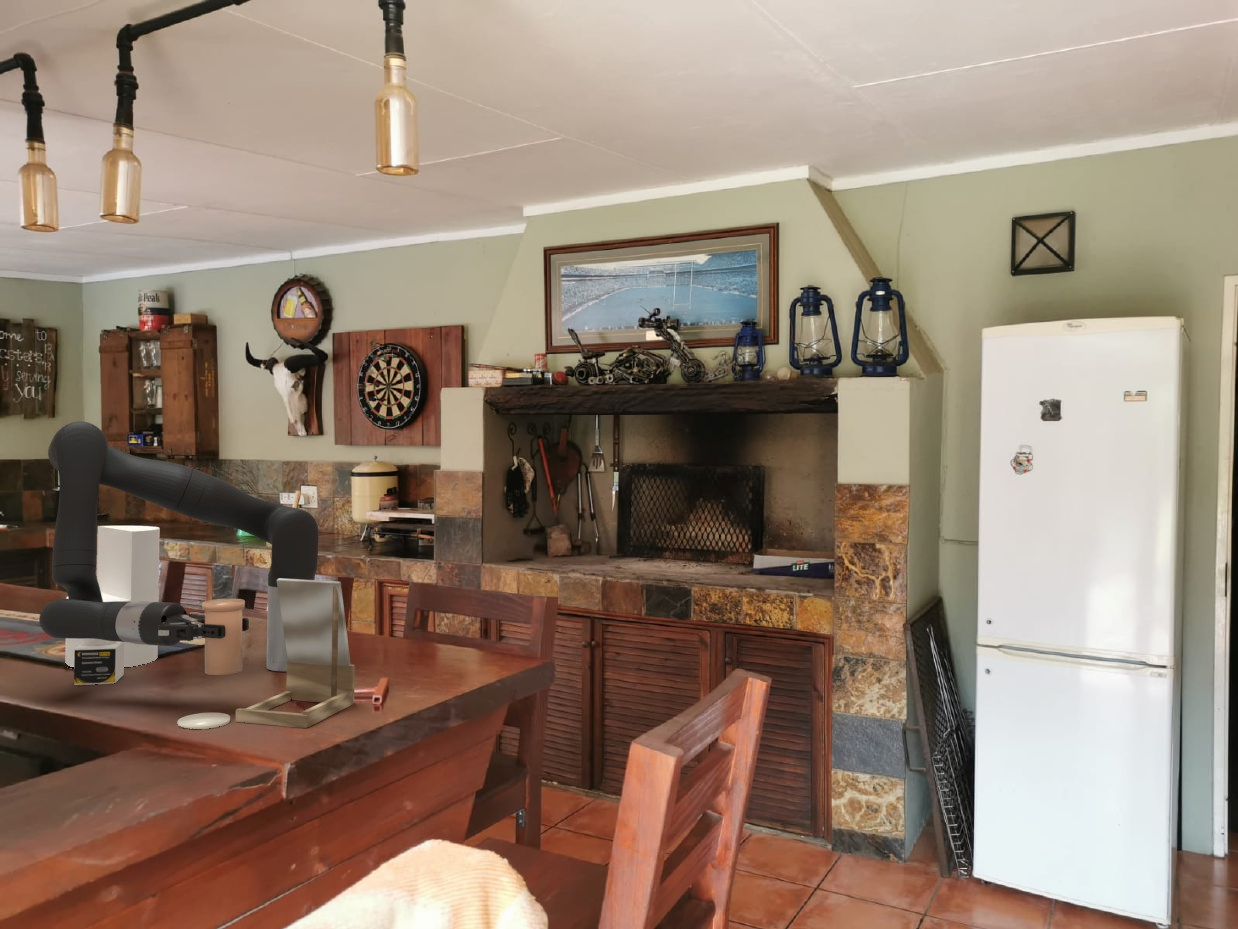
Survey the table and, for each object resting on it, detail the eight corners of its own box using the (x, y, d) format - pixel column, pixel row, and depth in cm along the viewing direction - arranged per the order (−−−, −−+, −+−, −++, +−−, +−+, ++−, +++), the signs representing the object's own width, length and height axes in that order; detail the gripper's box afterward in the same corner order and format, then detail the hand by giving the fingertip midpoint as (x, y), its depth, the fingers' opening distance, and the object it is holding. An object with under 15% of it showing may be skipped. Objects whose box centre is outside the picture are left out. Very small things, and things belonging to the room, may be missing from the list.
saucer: (198, 714, 161) (198, 711, 161) (240, 718, 160) (240, 714, 160) (166, 727, 153) (166, 723, 153) (209, 731, 152) (209, 727, 152)
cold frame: (289, 698, 173) (291, 575, 173) (354, 703, 170) (356, 578, 170) (235, 721, 157) (237, 586, 157) (306, 728, 155) (308, 590, 154)
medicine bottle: (73, 686, 179) (74, 622, 179) (83, 677, 186) (84, 616, 185) (115, 684, 181) (116, 621, 180) (124, 675, 187) (125, 615, 187)
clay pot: (218, 665, 168) (218, 597, 168) (252, 667, 166) (252, 599, 166) (193, 674, 161) (193, 604, 161) (228, 676, 160) (228, 606, 160)
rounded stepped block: (136, 649, 212) (138, 524, 212) (172, 661, 201) (174, 529, 201) (51, 660, 199) (53, 527, 199) (84, 674, 188) (86, 533, 187)
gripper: (121, 609, 160) (209, 613, 156) (179, 595, 174) (260, 599, 170) (122, 653, 160) (209, 659, 156) (179, 636, 174) (260, 641, 170)
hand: (235, 628), depth 163 cm, fingers closed on clay pot, 6 cm apart
